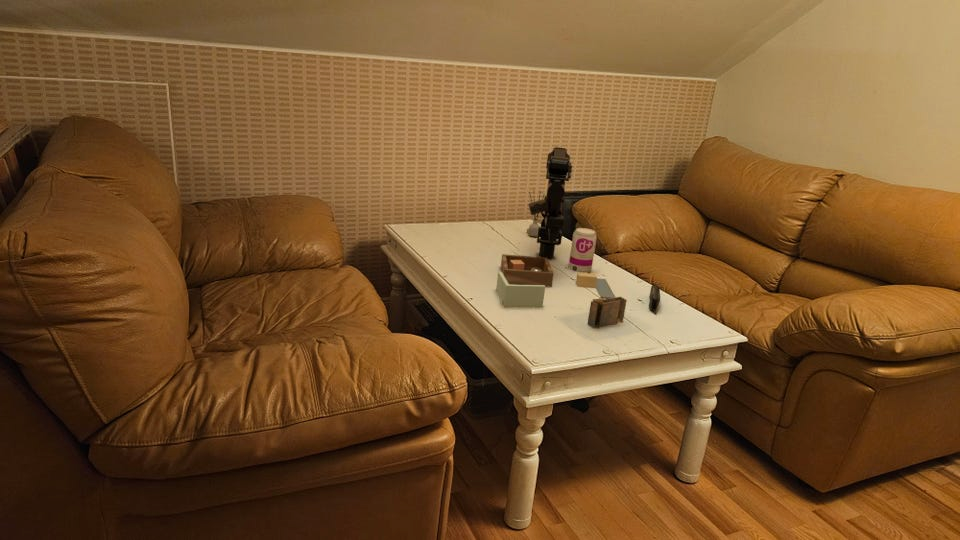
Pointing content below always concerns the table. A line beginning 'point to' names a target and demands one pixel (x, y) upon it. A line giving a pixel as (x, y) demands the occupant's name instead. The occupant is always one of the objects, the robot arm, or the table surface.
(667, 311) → the table surface
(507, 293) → the right angle wall
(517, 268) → the terracotta cube
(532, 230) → the reed diffuser
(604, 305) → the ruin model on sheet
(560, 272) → the table surface
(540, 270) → the grey metal cylinder
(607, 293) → the lid
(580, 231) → the supplement can
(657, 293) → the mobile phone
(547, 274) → the box
